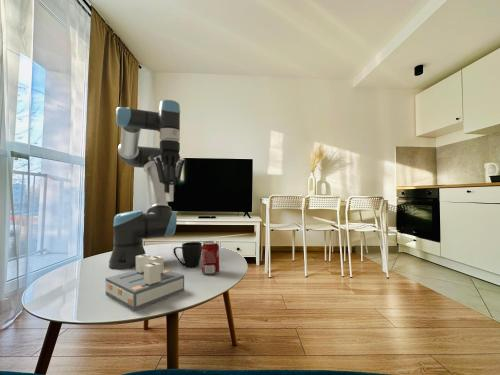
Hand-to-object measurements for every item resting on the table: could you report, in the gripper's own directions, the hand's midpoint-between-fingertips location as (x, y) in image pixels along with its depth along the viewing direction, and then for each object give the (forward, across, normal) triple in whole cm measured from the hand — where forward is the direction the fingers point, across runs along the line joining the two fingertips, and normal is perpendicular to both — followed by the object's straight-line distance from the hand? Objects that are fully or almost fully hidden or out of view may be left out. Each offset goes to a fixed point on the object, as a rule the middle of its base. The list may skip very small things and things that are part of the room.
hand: (169, 201), depth 94 cm
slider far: (+23, -13, -5) cm, 27 cm away
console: (+28, -15, -10) cm, 33 cm away
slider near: (+22, -17, -17) cm, 33 cm away
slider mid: (+22, -12, -11) cm, 28 cm away
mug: (+29, +10, +1) cm, 30 cm away
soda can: (+28, +10, -13) cm, 33 cm away
